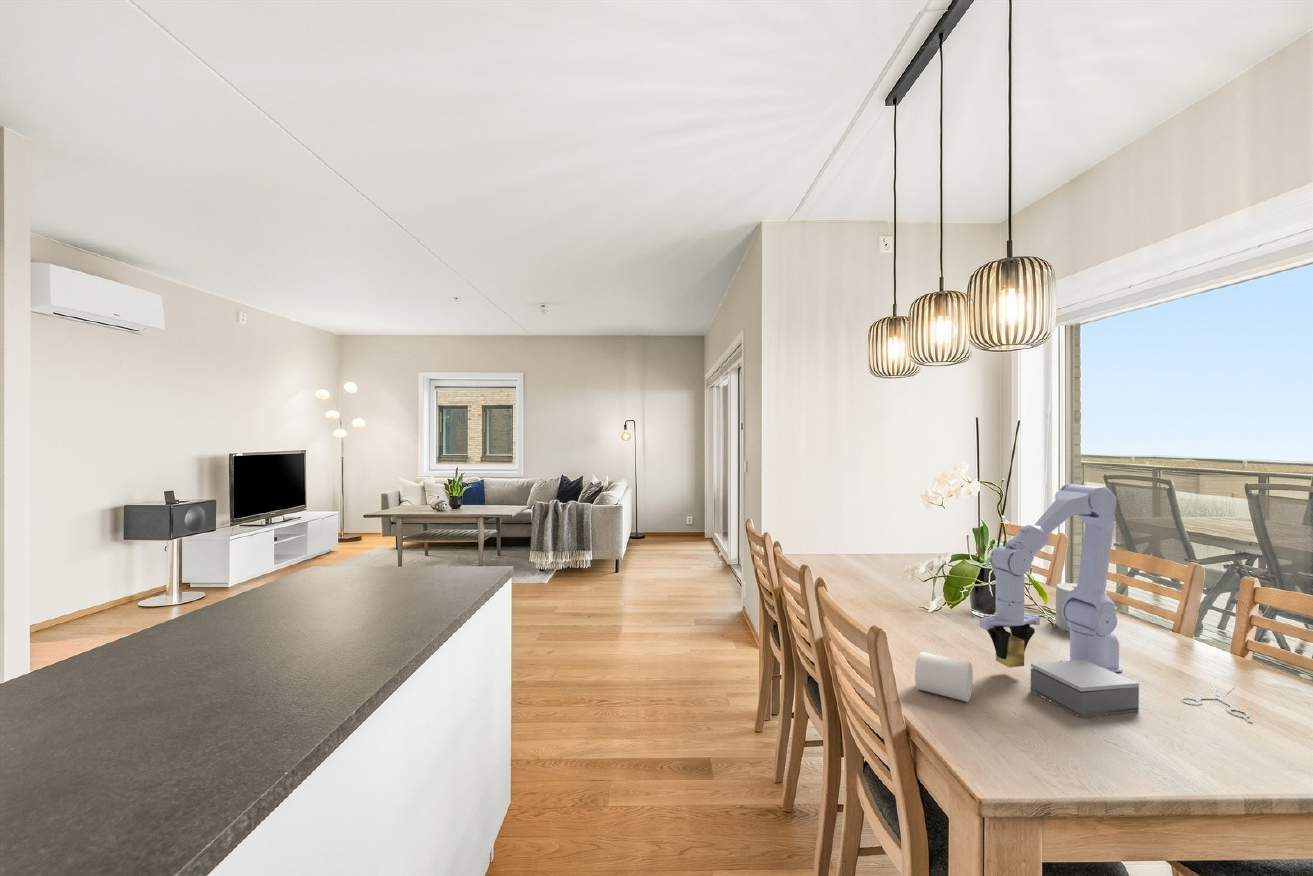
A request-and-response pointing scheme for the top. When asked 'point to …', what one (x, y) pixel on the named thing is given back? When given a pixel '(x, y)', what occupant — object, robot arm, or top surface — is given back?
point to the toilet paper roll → (1060, 599)
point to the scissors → (1216, 697)
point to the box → (1085, 697)
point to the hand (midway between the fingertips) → (1009, 657)
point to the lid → (1084, 675)
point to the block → (1013, 653)
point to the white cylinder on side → (944, 676)
